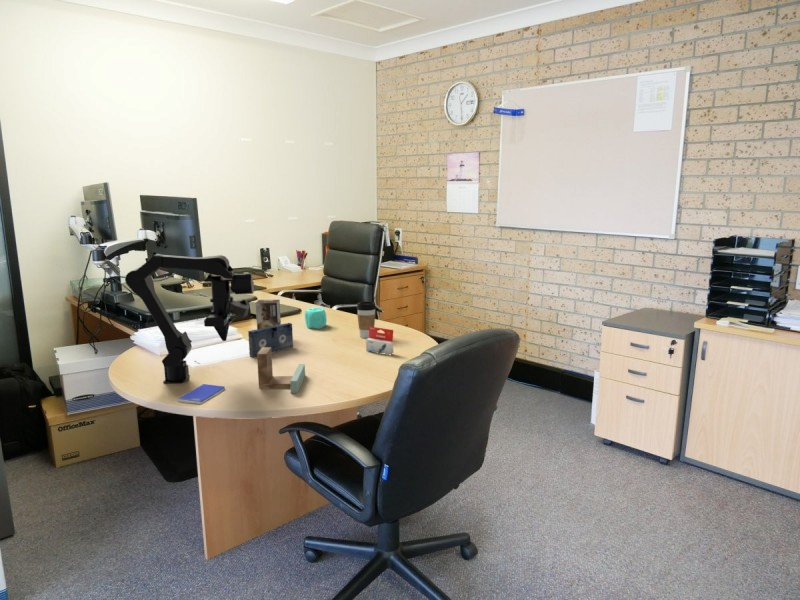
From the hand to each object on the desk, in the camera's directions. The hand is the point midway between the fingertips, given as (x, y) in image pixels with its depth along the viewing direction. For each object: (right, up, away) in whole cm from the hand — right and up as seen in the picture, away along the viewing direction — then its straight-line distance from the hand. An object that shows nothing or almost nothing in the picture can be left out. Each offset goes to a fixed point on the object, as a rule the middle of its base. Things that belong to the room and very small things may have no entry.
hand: (224, 340), depth 179 cm
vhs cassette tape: (+8, -7, +31) cm, 33 cm away
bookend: (+19, -14, -3) cm, 23 cm away
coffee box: (+3, -3, +50) cm, 50 cm away
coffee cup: (+44, -2, +52) cm, 68 cm away
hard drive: (-3, -17, -12) cm, 21 cm away
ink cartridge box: (+50, -7, +30) cm, 59 cm away
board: (+25, -14, -3) cm, 29 cm away
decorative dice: (+20, +1, +69) cm, 71 cm away
